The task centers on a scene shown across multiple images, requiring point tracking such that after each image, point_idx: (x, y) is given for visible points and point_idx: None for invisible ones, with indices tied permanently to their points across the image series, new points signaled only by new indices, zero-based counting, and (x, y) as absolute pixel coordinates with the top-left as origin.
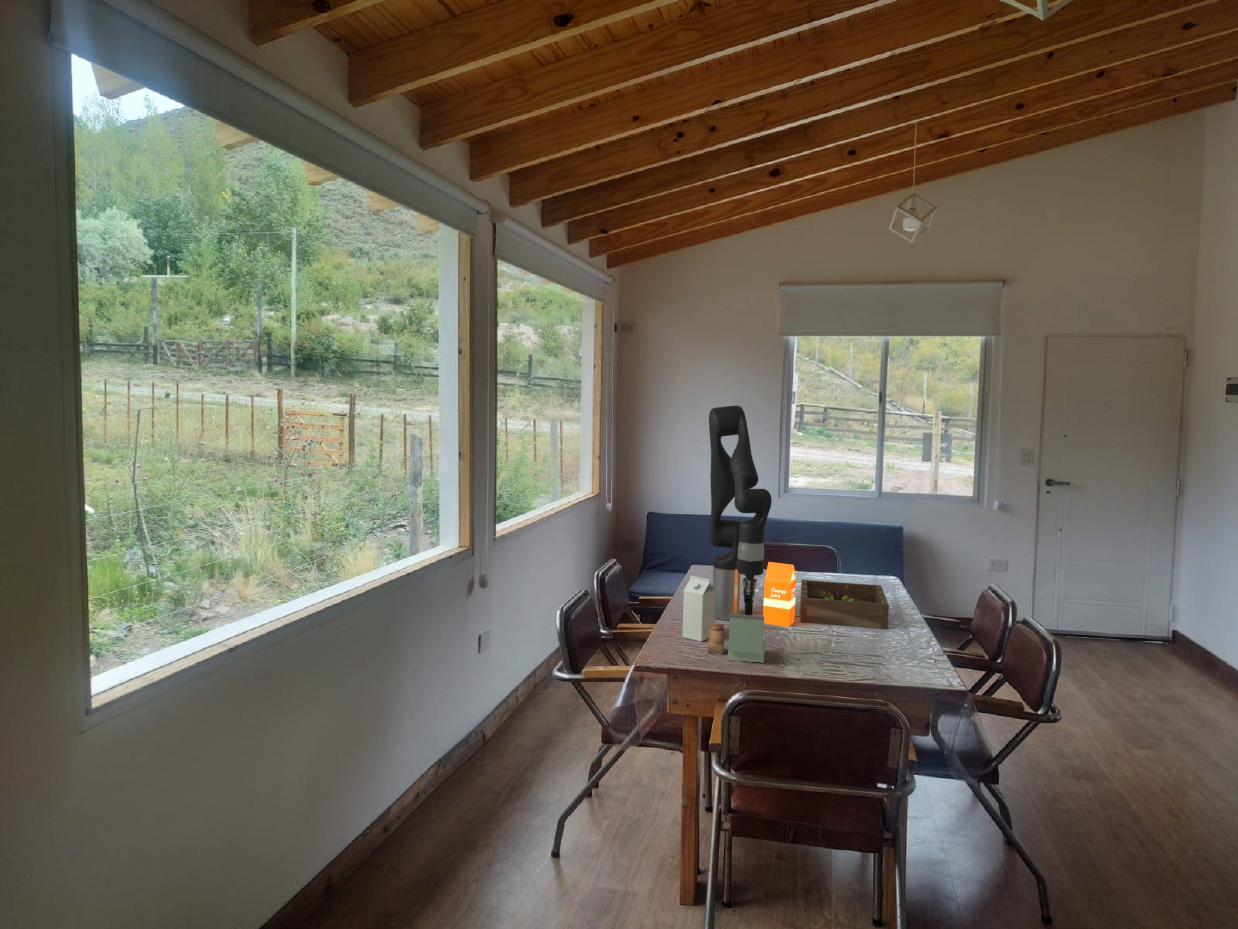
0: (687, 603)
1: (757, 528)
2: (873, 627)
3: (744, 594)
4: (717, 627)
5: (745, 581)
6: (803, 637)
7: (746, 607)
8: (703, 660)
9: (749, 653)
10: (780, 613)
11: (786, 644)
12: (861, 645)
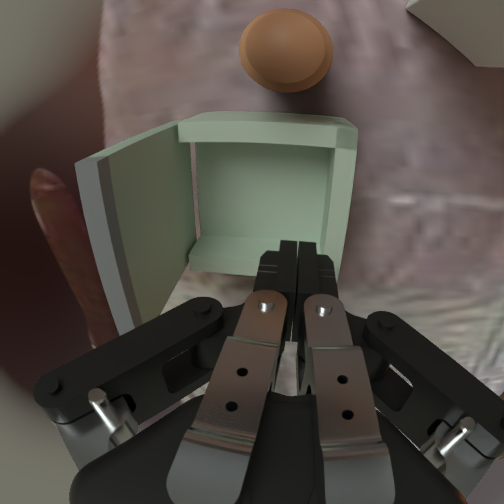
0: None
1: None
2: None
3: (82, 360)
4: (246, 52)
5: (72, 492)
6: (465, 337)
7: (256, 283)
8: (181, 29)
9: (199, 198)
10: None
11: (417, 302)
12: None
